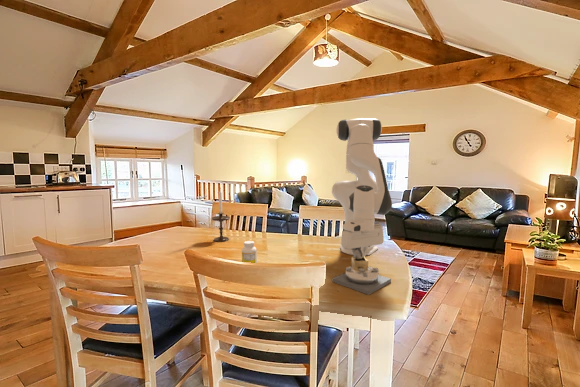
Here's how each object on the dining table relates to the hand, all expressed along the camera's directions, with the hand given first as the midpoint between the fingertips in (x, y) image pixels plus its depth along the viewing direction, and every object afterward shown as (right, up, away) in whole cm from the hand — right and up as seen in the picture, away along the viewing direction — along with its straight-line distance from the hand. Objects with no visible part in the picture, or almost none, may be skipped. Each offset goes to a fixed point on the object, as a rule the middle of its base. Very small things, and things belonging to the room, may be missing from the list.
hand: (362, 256), depth 128 cm
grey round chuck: (-1, -8, -4) cm, 9 cm away
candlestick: (-74, -3, +62) cm, 97 cm away
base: (-1, -10, -4) cm, 10 cm away
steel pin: (-1, -4, 0) cm, 4 cm away
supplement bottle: (-49, -8, +11) cm, 51 cm away
